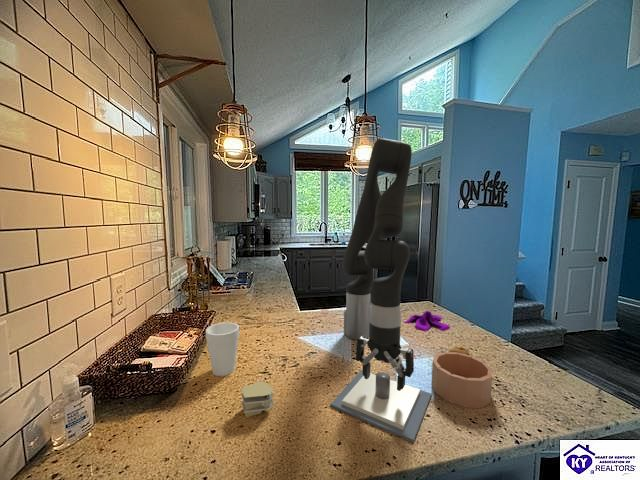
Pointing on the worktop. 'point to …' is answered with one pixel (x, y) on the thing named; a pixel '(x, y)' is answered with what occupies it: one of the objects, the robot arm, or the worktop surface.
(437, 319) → the cloth
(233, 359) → the foam cup
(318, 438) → the worktop surface
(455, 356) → the bowl
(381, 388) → the cover
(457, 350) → the pastry
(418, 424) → the mat
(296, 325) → the worktop surface
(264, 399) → the pale green layered block
